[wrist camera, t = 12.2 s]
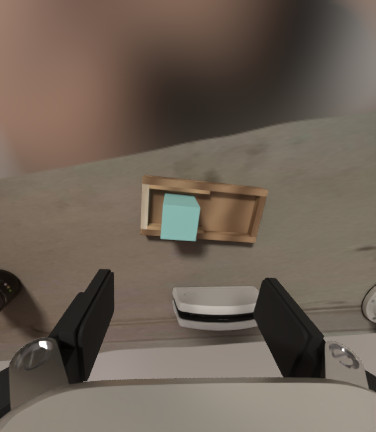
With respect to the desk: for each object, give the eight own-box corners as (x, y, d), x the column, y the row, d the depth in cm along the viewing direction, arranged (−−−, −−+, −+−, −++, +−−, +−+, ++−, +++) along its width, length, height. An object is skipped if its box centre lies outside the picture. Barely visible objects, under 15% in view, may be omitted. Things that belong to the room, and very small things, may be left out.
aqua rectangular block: (193, 195, 28) (200, 207, 22) (190, 222, 30) (195, 241, 23) (165, 192, 28) (163, 204, 21) (163, 219, 29) (160, 238, 23)
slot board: (261, 187, 30) (268, 190, 28) (249, 236, 33) (254, 242, 30) (144, 175, 28) (142, 176, 26) (142, 228, 31) (140, 234, 28)
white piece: (172, 308, 37) (172, 340, 27) (172, 284, 37) (172, 308, 27) (251, 305, 38) (279, 336, 28) (251, 283, 38) (279, 305, 28)
